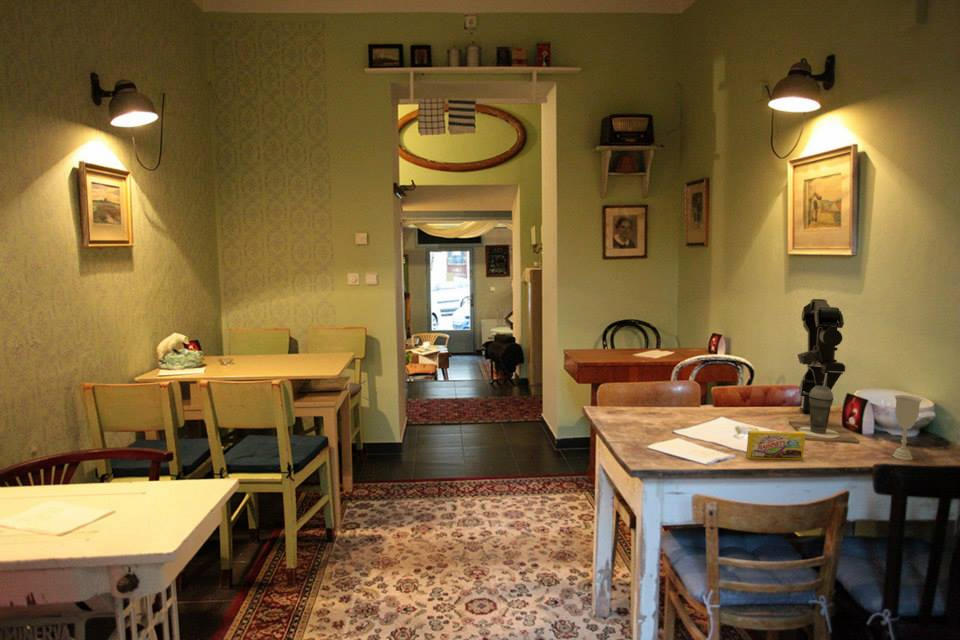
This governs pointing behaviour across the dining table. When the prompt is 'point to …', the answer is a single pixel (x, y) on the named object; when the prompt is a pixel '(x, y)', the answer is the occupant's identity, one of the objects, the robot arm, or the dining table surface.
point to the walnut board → (832, 433)
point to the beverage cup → (820, 407)
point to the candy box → (775, 445)
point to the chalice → (906, 421)
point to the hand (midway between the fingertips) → (822, 388)
